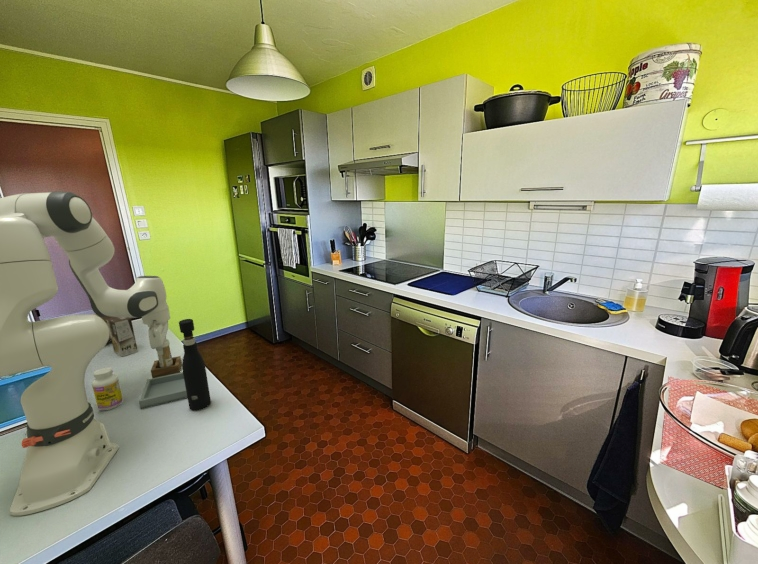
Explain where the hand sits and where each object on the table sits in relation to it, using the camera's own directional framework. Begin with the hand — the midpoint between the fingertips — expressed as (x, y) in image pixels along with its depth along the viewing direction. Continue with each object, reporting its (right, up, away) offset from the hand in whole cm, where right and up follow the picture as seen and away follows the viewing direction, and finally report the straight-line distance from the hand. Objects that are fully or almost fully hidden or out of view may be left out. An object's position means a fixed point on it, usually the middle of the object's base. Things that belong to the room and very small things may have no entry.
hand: (162, 349), depth 127 cm
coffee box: (-30, -6, +20) cm, 37 cm away
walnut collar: (+1, -10, +2) cm, 10 cm away
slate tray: (+10, -13, -11) cm, 20 cm away
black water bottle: (+26, -15, -19) cm, 35 cm away
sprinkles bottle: (+1, -10, +2) cm, 10 cm away
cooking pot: (-51, -3, +32) cm, 60 cm away
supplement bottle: (-5, -15, -18) cm, 24 cm away
